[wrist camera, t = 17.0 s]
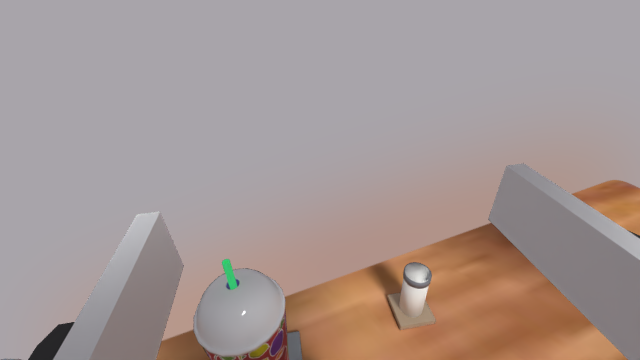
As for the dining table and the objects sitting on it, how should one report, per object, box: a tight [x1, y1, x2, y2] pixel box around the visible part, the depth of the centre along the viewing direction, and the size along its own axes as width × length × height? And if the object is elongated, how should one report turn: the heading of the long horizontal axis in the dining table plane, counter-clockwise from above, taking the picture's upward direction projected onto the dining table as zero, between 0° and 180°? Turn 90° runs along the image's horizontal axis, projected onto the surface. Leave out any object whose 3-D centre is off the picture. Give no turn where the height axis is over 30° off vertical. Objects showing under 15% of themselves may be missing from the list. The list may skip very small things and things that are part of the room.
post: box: [387, 262, 436, 330], centre depth 40 cm, size 5×5×8 cm
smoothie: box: [194, 259, 289, 360], centre depth 29 cm, size 8×8×20 cm
